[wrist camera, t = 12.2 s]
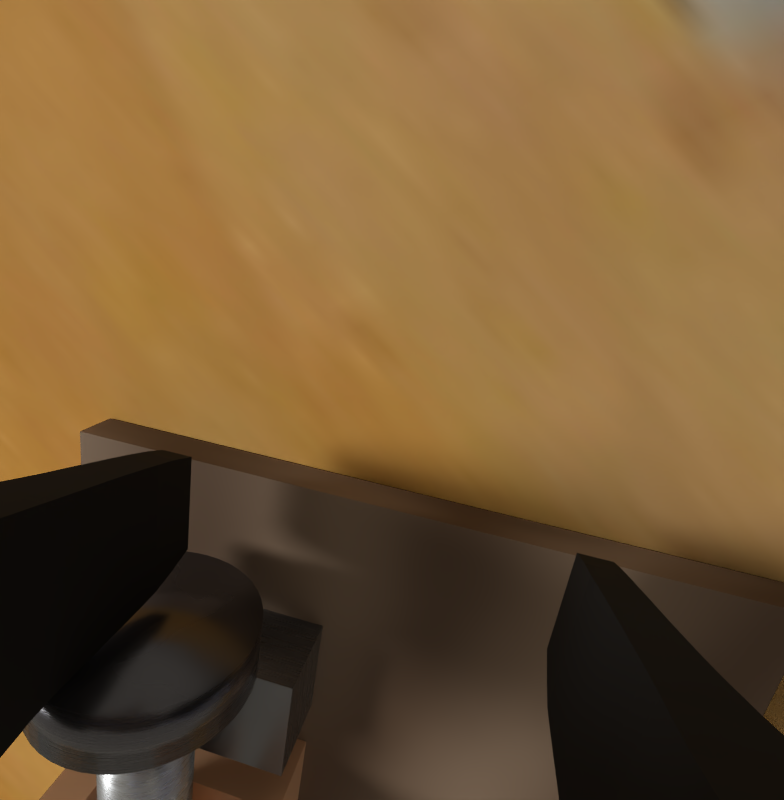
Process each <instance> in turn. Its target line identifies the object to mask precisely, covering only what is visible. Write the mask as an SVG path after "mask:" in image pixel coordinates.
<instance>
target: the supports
mask: <svg viewBox="0 0 784 800" xmlns="http://www.w3.org/2000/svg"><path fill="white" fill-rule="evenodd" d="M322 629H323V626H322V625H318V624H315V623H311V622H308V621H304V620H301V619H298V618H294V617H291V616H287V615H284V614H280V613H277V612H273V611H270V610H267V609H263V625H262V635H261V644H260V654H259V664H258V671H257V678H256V681H255V684H254V687H253V690H252V692H251V694H250V696H249V698H248V700H247V701H246V703H245V704H244V706H243V708H242V709H241V711H240V712H239V713H238V714H237V716H236V717H235V718H234V719H233V720H232V721H231V723H230V724H229V725H227V726H226V727H225V728H224V729H223V730H222V731H221V732H220V733H219V734H218V735H216V736H215V737H214V738H212V739H211V740H210V741H208V742H207V743H206V744H204V745H203V746H201V747H199V749H202V750H205V751H208V752H211V753H214V754H217V755H220V756H223V757H226V758H229V759H232V760H235V761H238V762H241V763H244V764H246V765H249V766H252V767H255V768H258V769H261V770H264V771H267V772H270V773H273V774H276V775H279V776H282V773H283V771H284V769H285V766H286V764H287V762H288V759H289V757H290V754H291V752H292V750H293V747H294V745H295V743H296V740H297V738H298V736H299V733H300V731H301V728H302V726H303V724H304V721H305V719H306V717H307V714H308V712H309V710H310V707H311V704H312V697H313V691H314V684H315V677H316V670H317V663H318V656H319V649H320V642H321V635H322Z"/></svg>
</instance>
